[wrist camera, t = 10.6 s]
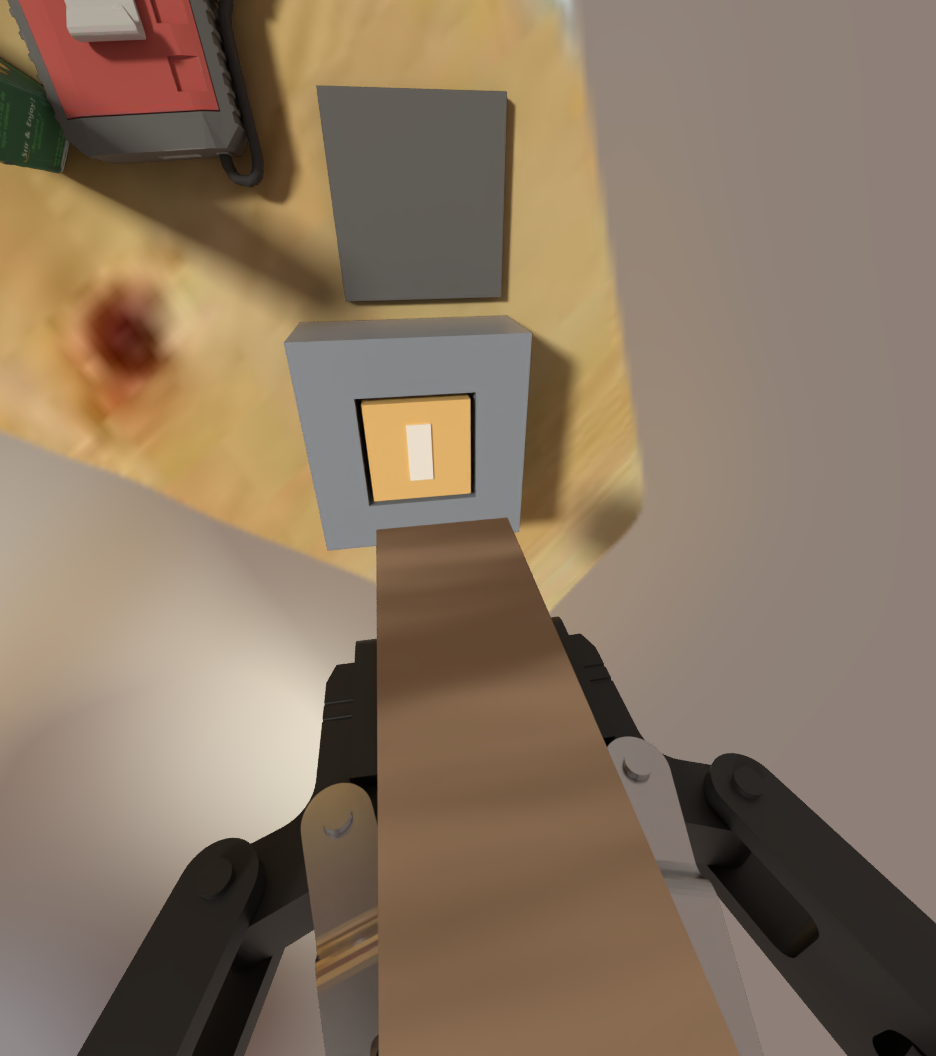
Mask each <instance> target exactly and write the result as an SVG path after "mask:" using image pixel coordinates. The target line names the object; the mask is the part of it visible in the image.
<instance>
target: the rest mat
mask: <svg viewBox="0 0 936 1056" xmlns="http://www.w3.org/2000/svg"><path fill="white" fill-rule="evenodd" d="M316 88H317V95H318V102H319V110H320V117H321V125H322V132H323V139H324V147H325V154H326V161H327V169H328V176H329V184H330V191H331V198H332V206H333V213H334V220H335V228H336V235H337V243H338V250H339V257H340V265H341V272H342V279H343V287H344V294H345V301H375V300H410V299H445V298H480V297H501V281H502V247H503V213H504V179H505V145H506V111H507V91H475V90H443V89H411V88H380V87H348V86H316Z"/></svg>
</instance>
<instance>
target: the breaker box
mask: <svg viewBox="0 0 936 1056" xmlns="http://www.w3.org/2000/svg"><path fill="white" fill-rule="evenodd" d="M531 342H532V332H530V331H529V330H527V329H526V328H524V327H523V326H521V325H520V324H519V323H517V322H516V321H514V320H513V319H511V318H510V317H508V316H507V315H505V316H475V317H446V318H417V319H387V320H358V321H329V322H300V323H299V324H298V325H297V327H296V328H295V329H294V330H293V332H292V333H291V334H290V335H289V337H288V338H287V339H286V340H285V342H284V346H285V351H286V355H287V360H288V365H289V370H290V375H291V379H292V384H293V389H294V394H295V398H296V403H297V408H298V413H299V417H300V422H301V427H302V432H303V436H304V441H305V446H306V451H307V455H308V460H309V465H310V470H311V474H312V479H313V484H314V489H315V493H316V498H317V503H318V508H319V512H320V517H321V522H322V527H323V532H324V536H325V541H326V546H327V551H329V550H339V549H350V548H360V547H370V546H376V530H378V529H389V528H399V527H410V526H421V525H431V524H442V523H453V522H463V521H474V520H485V519H496V518H506V517H508V520H509V522H510V524H511V527H512V529H513V531H514V532H519V528H520V512H521V497H522V481H523V466H524V450H525V435H526V419H527V404H528V388H529V373H530V357H531ZM454 393H467V394H468V396H469V397H470V430H471V493H468V494H457V495H445V496H433V497H421V498H410V499H398V500H386V501H374V496H373V489H372V481H371V474H370V466H369V459H368V451H367V444H366V436H365V429H364V421H363V414H362V406H361V404H362V399H365V398H383V397H401V396H418V395H436V394H454Z"/></svg>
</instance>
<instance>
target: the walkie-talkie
mask: <svg viewBox="0 0 936 1056" xmlns="http://www.w3.org/2000/svg"><path fill="white" fill-rule="evenodd" d="M8 3H9V5H10V7H11V8H10V9H9V11H10V13H11V15H12V17H14V18H15V19H16V21H17V24H18V26H19V29H20V32H19V34H20V37H21V39H23V40H25V43H26V45H27V48H28V50H29V52H30V53H29V54H28V56H29V58H30V60H31V61H33V62H34V64H35V67H36V69H37V71H38V75H37V77H38V79H39V81H40V82H42V83H43V86H44V88H45V90H46V93H47V95H46V98H47V100H48V102H51V105H52V107H53V109H54V112H55V115H54V117H55V119H56V121H58V122H59V124H60V126H61V128H62V131H63V134H62V136H63V137H64V138H65V139H66V140H67V141H69V142H70V143H71V144H72V145H73V146H74V147H76V148H77V149H78V150H79V151H80V152H82V153H83V154H84V155H85V156H86V157H89V158H93V159H97V160H101V161H105V162H109V163H114V164H124V163H139V162H154V161H170V160H185V159H200V158H216V157H220V160H221V163H222V166H223V168H224V170H225V171H226V173H227V174H228V176H229V178H231V179H232V180H233V181H234V182H235V183H236V184H239V185H243V186H248V187H254V186H256V185H258V184H259V183H260V181H261V180H262V177H263V156H262V152H261V148H260V144H259V140H258V136H257V132H256V128H255V124H254V120H253V116H252V112H251V108H250V103H249V99H248V95H247V91H246V87H245V83H244V79H243V75H242V71H241V67H240V63H239V58H238V54H237V49H236V45H235V40H234V36H233V31H232V11H233V0H219V5H218V4H217V3H216V1H215V0H8ZM247 143H249V147H250V151H251V156H252V171H251V173H250V175H248V176H245V175H241V174H239V173H238V172H237V170H236V168H235V166H234V164H233V162H232V159H231V156H241V155H242V153H243V151H244V149H245V147H246V145H247Z"/></svg>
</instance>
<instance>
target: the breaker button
mask: <svg viewBox="0 0 936 1056" xmlns="http://www.w3.org/2000/svg"><path fill="white" fill-rule="evenodd" d="M361 406H362V414H363V421H364V429H365V436H366V444H367V451H368V459H369V466H370V474H371V481H372V489H373V496H374V501H386V500H398V499H410V498H421V497H433V496H445V495H457V494H468V493H471V430H470V397H469V396H468V394H467V393H454V394H436V395H418V396H401V397H383V398H365V399H362V404H361Z"/></svg>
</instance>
